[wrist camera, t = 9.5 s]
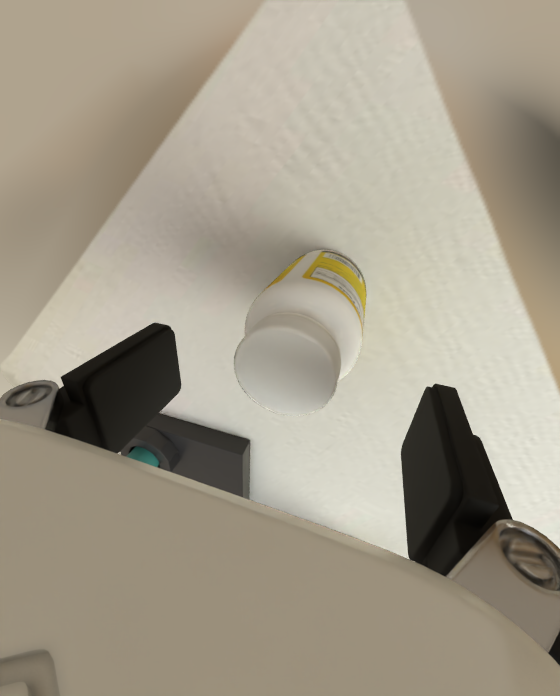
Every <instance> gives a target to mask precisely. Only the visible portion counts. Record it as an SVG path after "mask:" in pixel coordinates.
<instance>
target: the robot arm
mask: <svg viewBox="0 0 560 696" xmlns="http://www.w3.org/2000/svg"><path fill="white" fill-rule="evenodd" d="M61 379H62V382H63V384H64V386H63V387H61V388H60V389H59V387H58V385H57V384H56V383H55V382H52V381H48V380H40V381H33V382H28V383H25V384H22V385H19V386H17V387H15V388H13V389H11V390H9V391H8V392H6V393H5V394H3V396H2V397H1V398H0V696H560V549H559V548H558V547H557V546H556V545H555V544H554V543H553V542H552V541H551V540H549V539H548V538H547V537H546V536H545V535H543V534H542V533H540V532H539V531H537V530H536V529H534V528H533V527H530V526H528V525H526V524H524V523H522V522H519V521H514V520H513V519H512V517H511V514H510V512H509V509H508V507H507V504H506V502H505V499H504V497H503V494H502V492H501V489H500V487H499V484H498V481H497V479H496V476H495V474H494V471H493V469H492V466H491V464H490V461H489V459H488V456H487V454H486V451H485V449H484V446H483V444H482V441H481V440H480V438H479V437H478V436H476V435H473V433H472V431H471V428H470V425H469V423H468V420H467V417H466V415H465V412H464V409H463V407H462V404H461V401H460V398H459V396H458V393H457V390H456V389H455V388H453V387H448V386H444V385H439V384H434V385H433V387H426V389H425V391H424V393H423V396H422V398H421V401H420V403H419V405H418V408H417V410H416V413H415V415H414V418H413V420H412V423H411V425H410V427H409V430H408V432H407V435H406V437H405V440H404V442H403V445H402V449H401V461H402V475H403V489H404V503H405V517H406V530H407V544H408V555H409V559H410V560H409V559H407V558H404V557H402V556H400V555H397V554H395V553H392V552H390V551H388V550H385V549H382V548H380V547H377V546H374V545H372V544H369V543H366V542H364V541H361V540H358V539H356V538H353V537H351V536H348V535H345V534H343V533H340V532H337V531H335V530H332V529H329V528H327V527H324V526H321V525H318V524H315V523H313V522H310V521H307V520H304V519H301V518H299V517H296V516H293V515H290V514H287V513H285V512H282V511H279V510H276V509H273V508H271V507H268V506H265V505H262V504H259V503H257V502H254V501H251V500H248V499H245V498H243V497H240V496H237V495H234V494H231V493H229V492H226V491H223V490H220V489H217V488H214V487H212V486H209V485H206V484H203V483H200V482H197V481H194V480H192V479H189V478H186V477H183V476H180V475H177V474H175V473H172V472H169V471H166V470H163V469H160V468H157V467H154V466H152V465H149V464H146V463H143V462H140V461H137V460H134V459H131V458H129V457H126V456H123V455H120V454H117V453H119V452H120V451H121V450H122V449H123V448H124V447H125V446H126V445H127V444H128V443H129V442H130V441H131V440H132V439H133V438H134V437H135V436H136V435H137V434H138V433H139V432H140V431H141V430H142V429H143V428H144V427H145V426H146V425H147V424H148V423H149V422H150V421H151V420H152V419H153V418H154V417H155V416H156V415H157V414H158V413H159V412H160V411H161V410H162V409H163V408H164V407H165V406H166V405H167V404H168V403H169V402H170V401H171V400H172V399H173V398H174V397H175V396H176V395H177V394H178V393H179V391H180V389H181V379H180V371H179V364H178V356H177V349H176V341H175V334H174V332H173V330H171V328H170V326H168V325H164V324H159V323H153V324H151V325H149V326H147V327H146V328H144V329H142V330H140V331H139V332H137V333H135V334H134V335H132V336H130V337H128V338H127V339H125V340H123V341H122V342H120V343H118V344H116V345H115V346H113V347H111V348H110V349H108V350H106V351H104V352H103V353H101V354H99V355H98V356H96V357H94V358H92V359H91V360H89V361H87V362H86V363H84V364H82V365H80V366H79V367H77V368H75V369H74V370H72V371H70V372H69V373H67V374H65V375H63V376H62V377H61ZM411 560H412V561H411ZM414 561H415V562H414Z"/></svg>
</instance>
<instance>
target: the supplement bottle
mask: <svg viewBox="0 0 560 696" xmlns="http://www.w3.org/2000/svg"><path fill="white" fill-rule="evenodd" d="M365 305H366V285H365V280H364V277H363V275H362V273H361V271H360V269H359V268H358V266H357V265H356V264H355V263H354V262H353V261H352V260H351V259H350V258H348V257H347V256H345V255H343V254H341V253H339V252H336V251H331V250H316V251H311V252H309V253H306V254H304V255H302V256H301V257H299V258H298V259H296V260H295V261H294V262H293V263H292V264H291V265H290V266H289V267H288V268H287V269H285V270H284V271H283V272H282V273H281V274H280V275H279V276H278V277H277V278H276V279H275V280H274V281H273V282H272V283H271V284H270V285H269V286H268V287H267V288H266V289H265V290H264V291H263V292H262V293H261V294H260V295H259V296H258V297H257V298H256V300H255V301H254V302H253V304H252V306H251V307H250V309H249V312H248V314H247V317H246V322H245V337H244V338H243V339H242V341H241V342H240V344H239V345H238V347H237V349H236V352H235V356H234V370H235V374H236V377H237V380H238V382H239V384H240V386H241V387H242V389H243V390H244V392H245V393H246V394H247V395H248V396H249V397H250V398H251V399H252V400H253V401H254V402H256V403H257V404H258V405H260V406H262V407H263V408H265V409H267V410H269V411H272V412H274V413H277V414H281V415H287V416H302V415H307V414H311V413H313V412H316V411H318V410H320V409H321V408H323V407H324V406H325V405H326V404H327V403H328V402H329V401H330V399H331V398H332V396H333V395H334V392H335V390H336V386H337V382H338V381H339V380H341V379H342V378H343V377H345V376H346V375H347V374H348V373H349V372H350V370H351V369H352V368H353V366H354V365H355V363H356V361H357V359H358V356H359V353H360V349H361V345H362V338H363V327H364V316H365Z"/></svg>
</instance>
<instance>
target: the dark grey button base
mask: <svg viewBox="0 0 560 696" xmlns="http://www.w3.org/2000/svg"><path fill="white" fill-rule="evenodd" d="M137 446H138V447H141V448H144V449H146V450H148V451H149V452H151V453H152V454H153V455H154V456H155V457H156V458H157V459H158V461H159V465H158V467H157V468H160V469H163V470H166V471H169V472H172V473H175V474H177V475H180V476H183V477H186V478H189V479H192V480H194V481H197V482H200V483H203V484H206V485H209V486H212V487H214V488H217V489H220V490H223V491H226V492H229V493H231V494H234V495H237V496H240V497H243V498H245V499H248V500H249V473H250V440H247V439H244V438H240V437H237V436H233V435H230V434H226V433H223V432H220V431H216V430H213V429H209V428H206V427H203V426H199V425H196V424H192V423H189V422H185V421H182V420H179V419H175V418H172V417H168V416H165V415H161V414H157V415H156V416H155V417H154V418H153V419H152V420H151V421H150V422H149V423H148V424H147V425H146V426H145V427H144V428H143V429H142V430H141V431H140V432H139V433H138V434H137V435H136V436H135V437H134V438H133V439H132V440H131V441H130V442H129V443H128V444H127V445H126V446H125V447H124V448H123V449H122V450H121V451H120V452H121V455H123V456H126V457H127V455H128V454H129V453H130V452H131V451H132V450H133V449H134V448H135V447H137Z"/></svg>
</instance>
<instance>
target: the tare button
mask: <svg viewBox="0 0 560 696" xmlns="http://www.w3.org/2000/svg"><path fill="white" fill-rule="evenodd" d="M127 457H129V458H131V459H134V460H137V461H140V462H143V463H146V464H149V465H152V466H154V467H158V465H159V461H158V459H157V458H156V457H155V456H154V455H153V454H152V453H151V452H149V451H148V450H146V449H144V448H141V447H138V446H137V447H135V448H134V449H133V450H132V451H131V452H130V453H129V454H128V455H127Z"/></svg>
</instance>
